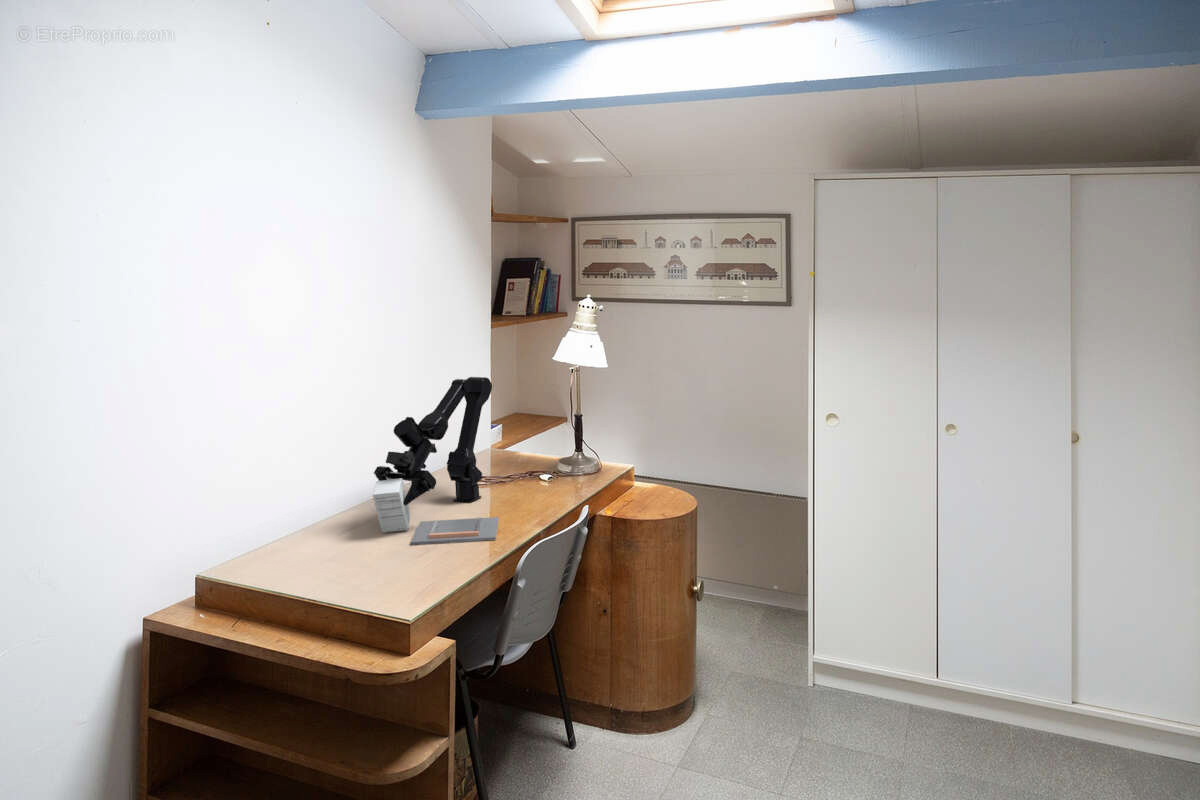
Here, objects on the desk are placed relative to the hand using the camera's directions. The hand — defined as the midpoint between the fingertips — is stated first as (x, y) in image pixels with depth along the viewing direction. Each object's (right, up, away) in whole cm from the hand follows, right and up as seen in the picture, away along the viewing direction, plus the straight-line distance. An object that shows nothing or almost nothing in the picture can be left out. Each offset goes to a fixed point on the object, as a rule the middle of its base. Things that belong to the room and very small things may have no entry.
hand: (391, 502), depth 218 cm
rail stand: (+18, -8, -2) cm, 20 cm away
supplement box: (+1, -7, +3) cm, 7 cm away
